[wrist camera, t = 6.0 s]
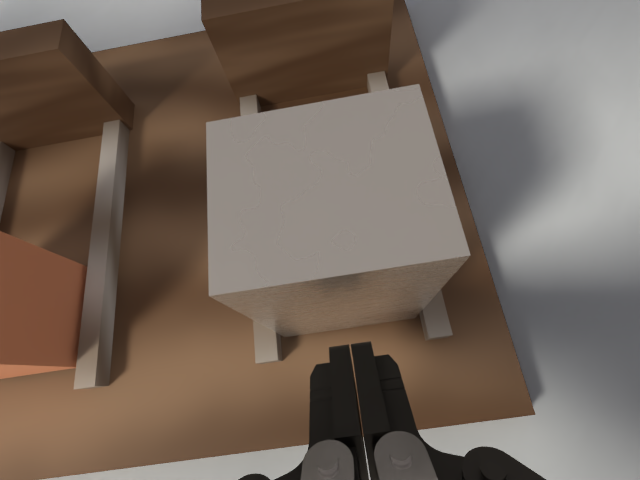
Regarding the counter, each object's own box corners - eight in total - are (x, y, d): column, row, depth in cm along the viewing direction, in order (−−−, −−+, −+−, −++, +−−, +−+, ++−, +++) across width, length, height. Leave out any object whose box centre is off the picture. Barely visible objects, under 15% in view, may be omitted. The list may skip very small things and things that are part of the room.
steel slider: (414, 318, 16) (470, 255, 8) (285, 337, 17) (208, 295, 8) (392, 218, 18) (419, 83, 10) (276, 237, 19) (205, 122, 10)
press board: (525, 412, 16) (639, 436, 9) (-108, 495, 17) (-388, 565, 11) (400, 6, 25) (413, -122, 19) (-2, 83, 27) (-117, -10, 20)
